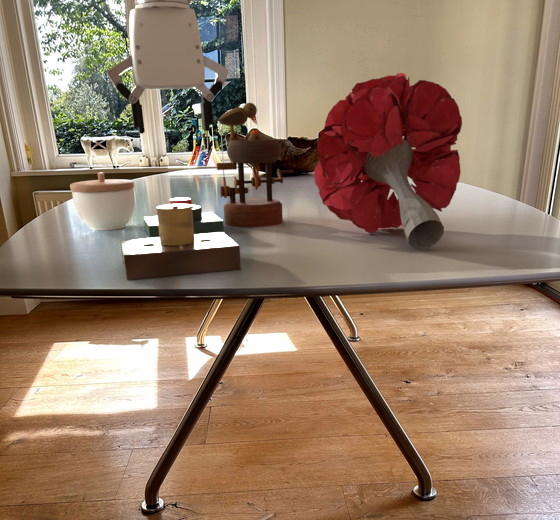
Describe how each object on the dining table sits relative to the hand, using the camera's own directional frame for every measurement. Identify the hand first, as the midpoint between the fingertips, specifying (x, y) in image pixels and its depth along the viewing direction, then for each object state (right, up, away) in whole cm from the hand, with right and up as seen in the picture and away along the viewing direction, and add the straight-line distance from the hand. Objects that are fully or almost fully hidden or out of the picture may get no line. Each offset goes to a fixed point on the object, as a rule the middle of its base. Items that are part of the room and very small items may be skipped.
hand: (174, 131), depth 89 cm
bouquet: (+33, -14, +5) cm, 36 cm away
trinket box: (-15, -10, +17) cm, 25 cm away
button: (-1, -9, +10) cm, 13 cm away
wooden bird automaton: (+12, -9, +18) cm, 24 cm away
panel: (+3, -22, -12) cm, 25 cm away
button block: (0, -12, +11) cm, 17 cm away
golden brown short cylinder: (+3, -20, -13) cm, 24 cm away
